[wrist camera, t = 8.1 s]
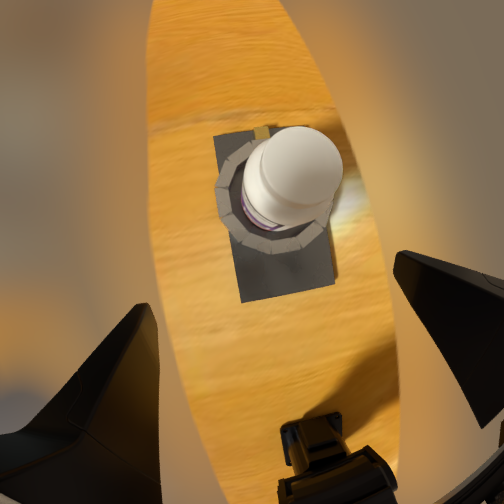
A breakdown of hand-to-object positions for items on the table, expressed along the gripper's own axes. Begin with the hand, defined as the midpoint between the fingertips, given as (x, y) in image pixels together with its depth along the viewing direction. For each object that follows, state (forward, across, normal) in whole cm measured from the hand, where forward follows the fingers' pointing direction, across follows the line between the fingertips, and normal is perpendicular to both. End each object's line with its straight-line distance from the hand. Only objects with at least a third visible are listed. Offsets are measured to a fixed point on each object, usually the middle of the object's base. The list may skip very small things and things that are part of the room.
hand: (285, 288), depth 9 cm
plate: (+14, -3, +2) cm, 14 cm away
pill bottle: (+14, -3, +2) cm, 14 cm away
